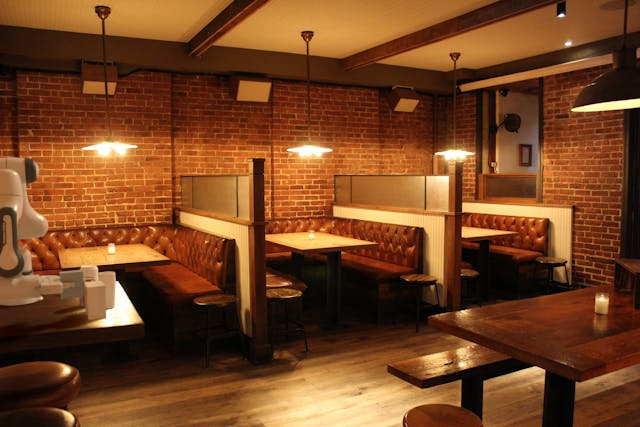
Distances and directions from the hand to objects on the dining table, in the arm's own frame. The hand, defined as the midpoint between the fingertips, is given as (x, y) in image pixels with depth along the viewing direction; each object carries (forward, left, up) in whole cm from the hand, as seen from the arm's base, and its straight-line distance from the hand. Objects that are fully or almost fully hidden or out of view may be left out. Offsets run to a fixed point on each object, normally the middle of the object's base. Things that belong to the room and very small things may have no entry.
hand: (74, 282), depth 216 cm
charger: (0, -1, -5) cm, 6 cm away
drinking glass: (-11, +14, -14) cm, 23 cm away
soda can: (-19, +7, -15) cm, 25 cm away
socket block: (0, +8, -14) cm, 16 cm away
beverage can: (-50, +11, -15) cm, 53 cm away
